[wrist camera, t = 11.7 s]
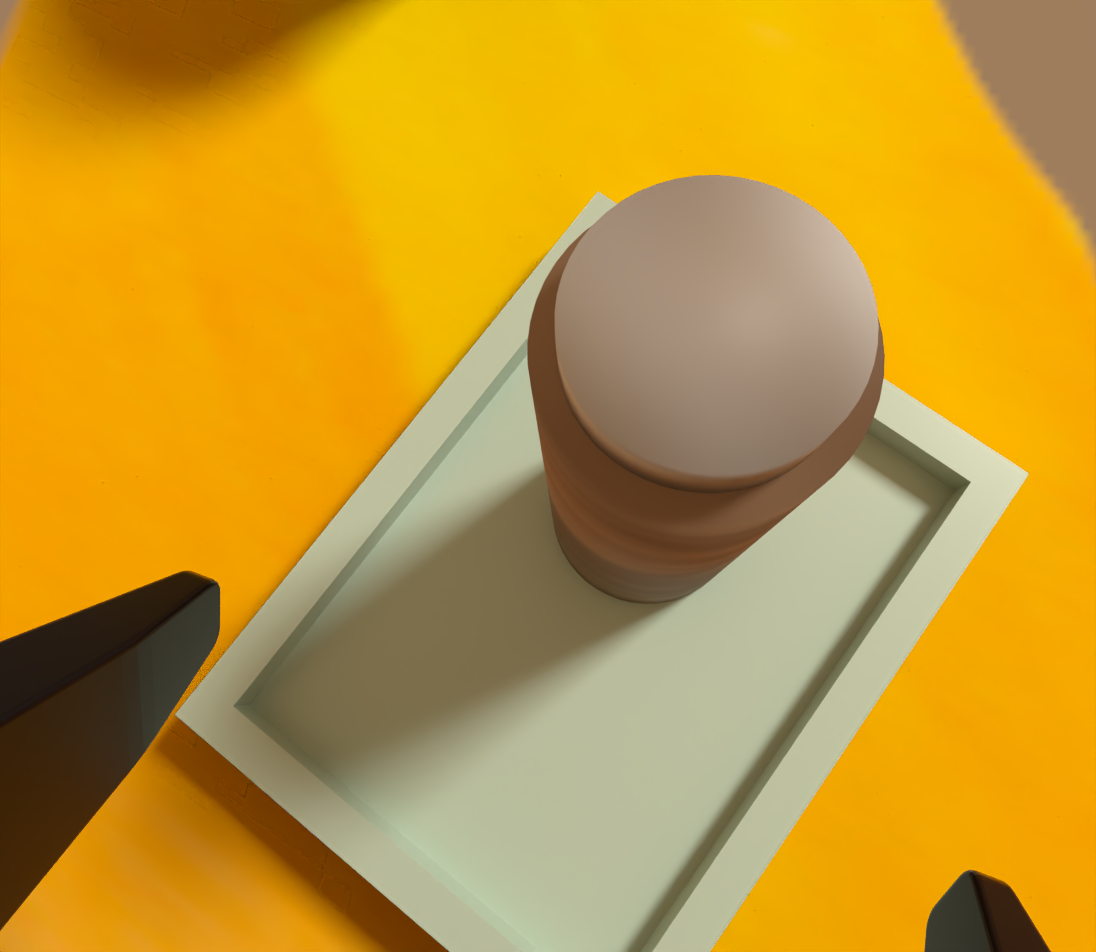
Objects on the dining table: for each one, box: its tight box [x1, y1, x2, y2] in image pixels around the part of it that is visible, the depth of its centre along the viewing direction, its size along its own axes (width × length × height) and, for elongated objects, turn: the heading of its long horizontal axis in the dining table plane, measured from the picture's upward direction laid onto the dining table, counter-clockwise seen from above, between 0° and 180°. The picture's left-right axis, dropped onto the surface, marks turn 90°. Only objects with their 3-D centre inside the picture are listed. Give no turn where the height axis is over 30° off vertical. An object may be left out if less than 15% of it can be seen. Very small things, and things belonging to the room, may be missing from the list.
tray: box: [175, 192, 1029, 952], centre depth 22 cm, size 17×13×2 cm
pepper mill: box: [527, 175, 884, 604], centre depth 17 cm, size 5×5×12 cm
